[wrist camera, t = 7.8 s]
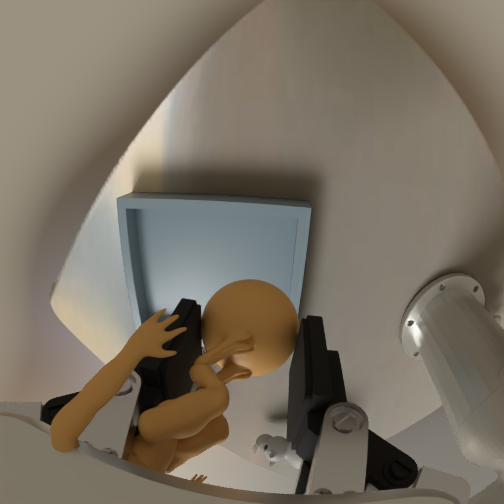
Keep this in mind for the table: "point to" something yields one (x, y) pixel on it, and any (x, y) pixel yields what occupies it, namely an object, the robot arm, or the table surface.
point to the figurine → (191, 374)
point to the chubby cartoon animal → (277, 449)
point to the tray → (208, 247)
